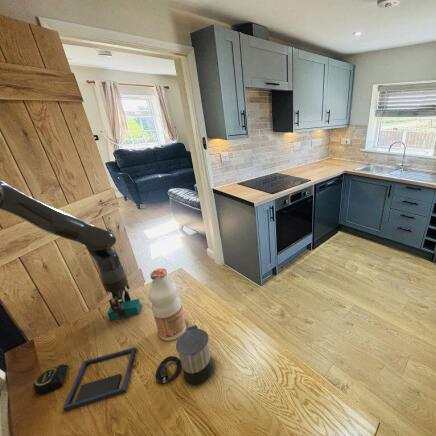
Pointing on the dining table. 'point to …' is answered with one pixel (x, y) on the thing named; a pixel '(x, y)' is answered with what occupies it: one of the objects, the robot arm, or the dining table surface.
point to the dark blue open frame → (70, 405)
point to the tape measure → (50, 379)
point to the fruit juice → (166, 306)
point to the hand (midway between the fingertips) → (125, 308)
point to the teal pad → (126, 309)
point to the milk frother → (190, 358)
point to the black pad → (98, 387)
